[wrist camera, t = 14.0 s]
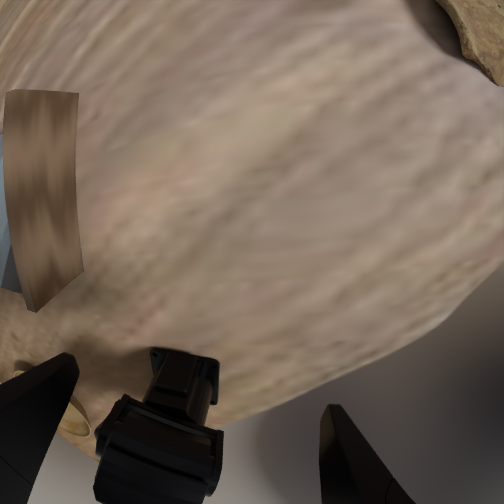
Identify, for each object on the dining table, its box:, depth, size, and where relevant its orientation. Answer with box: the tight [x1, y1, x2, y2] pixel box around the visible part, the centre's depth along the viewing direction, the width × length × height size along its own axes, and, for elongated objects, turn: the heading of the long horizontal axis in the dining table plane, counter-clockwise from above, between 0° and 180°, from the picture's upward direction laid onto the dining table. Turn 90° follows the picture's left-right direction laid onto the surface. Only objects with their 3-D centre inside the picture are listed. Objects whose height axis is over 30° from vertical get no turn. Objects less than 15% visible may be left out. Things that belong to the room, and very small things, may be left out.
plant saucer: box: [13, 370, 91, 438], centre depth 31 cm, size 15×15×3 cm
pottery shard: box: [435, 0, 504, 86], centre depth 11 cm, size 11×4×10 cm
